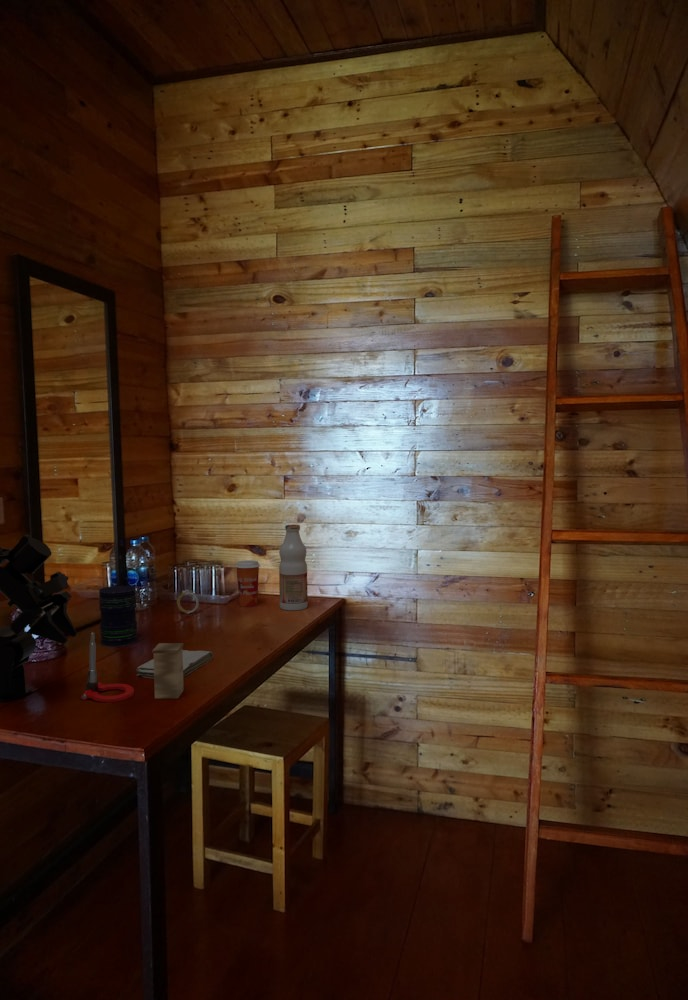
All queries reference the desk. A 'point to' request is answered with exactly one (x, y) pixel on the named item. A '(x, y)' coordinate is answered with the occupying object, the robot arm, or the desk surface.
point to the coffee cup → (248, 582)
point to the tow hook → (98, 686)
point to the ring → (183, 595)
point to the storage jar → (118, 615)
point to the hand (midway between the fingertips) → (70, 638)
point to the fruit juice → (293, 571)
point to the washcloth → (190, 663)
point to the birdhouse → (168, 670)
